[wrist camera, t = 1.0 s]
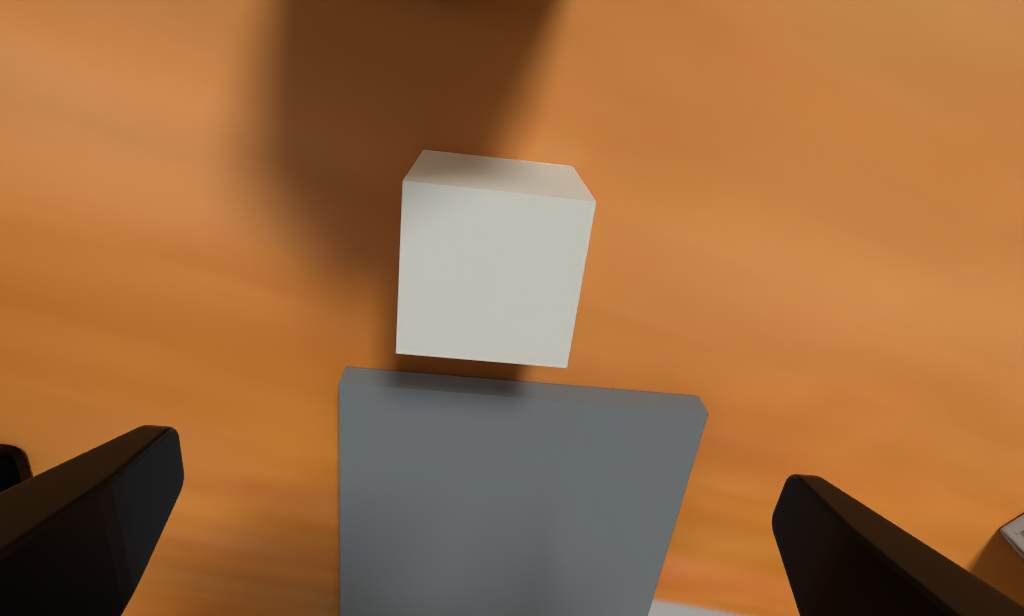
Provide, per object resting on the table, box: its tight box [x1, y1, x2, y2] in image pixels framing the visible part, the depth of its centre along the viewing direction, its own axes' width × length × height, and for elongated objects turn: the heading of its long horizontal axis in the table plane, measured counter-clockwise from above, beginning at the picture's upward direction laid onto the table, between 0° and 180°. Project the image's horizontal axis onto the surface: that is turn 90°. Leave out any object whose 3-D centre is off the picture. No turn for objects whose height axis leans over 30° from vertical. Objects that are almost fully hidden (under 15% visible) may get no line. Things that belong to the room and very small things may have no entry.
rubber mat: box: [339, 367, 708, 616], centre depth 25 cm, size 14×14×1 cm
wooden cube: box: [396, 149, 596, 368], centre depth 18 cm, size 5×5×5 cm
